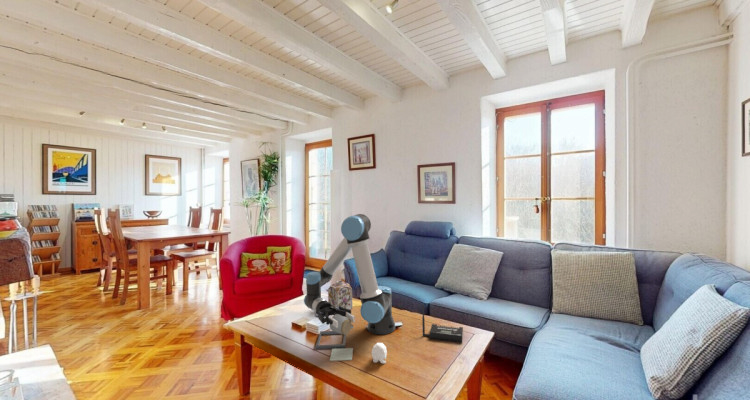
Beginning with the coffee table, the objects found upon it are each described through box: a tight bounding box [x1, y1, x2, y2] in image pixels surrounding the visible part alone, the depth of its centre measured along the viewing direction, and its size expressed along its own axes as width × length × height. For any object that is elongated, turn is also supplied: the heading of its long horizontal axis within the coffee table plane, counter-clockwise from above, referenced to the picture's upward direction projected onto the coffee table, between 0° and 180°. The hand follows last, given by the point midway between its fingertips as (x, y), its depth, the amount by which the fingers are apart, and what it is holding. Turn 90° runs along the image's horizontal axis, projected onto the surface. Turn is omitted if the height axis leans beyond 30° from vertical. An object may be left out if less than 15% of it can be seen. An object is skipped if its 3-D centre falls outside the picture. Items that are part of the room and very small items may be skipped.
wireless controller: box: [421, 303, 464, 344], centre depth 163 cm, size 20×14×17 cm
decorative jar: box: [327, 280, 353, 311], centre depth 203 cm, size 12×12×18 cm
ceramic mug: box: [329, 314, 354, 336], centre depth 147 cm, size 11×8×8 cm
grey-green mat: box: [329, 347, 354, 362], centre depth 147 cm, size 10×10×1 cm
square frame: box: [315, 330, 347, 350], centre depth 160 cm, size 14×16×2 cm
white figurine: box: [371, 342, 388, 365], centre depth 142 cm, size 6×8×12 cm
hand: (345, 322), depth 142 cm, fingers closed on ceramic mug, 8 cm apart
